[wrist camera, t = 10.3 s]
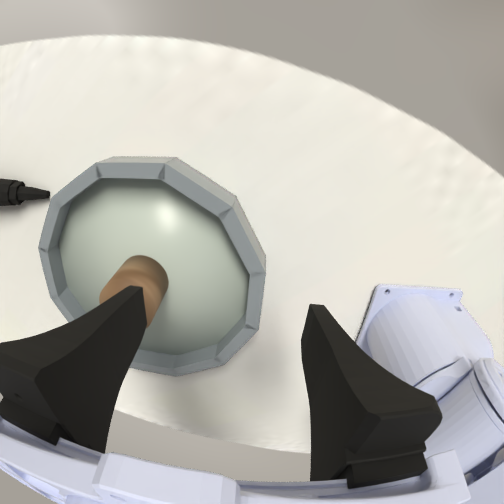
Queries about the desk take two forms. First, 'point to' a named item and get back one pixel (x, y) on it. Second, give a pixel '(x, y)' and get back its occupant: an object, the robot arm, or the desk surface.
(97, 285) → the round tray
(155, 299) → the brown rounded piece
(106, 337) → the robot arm
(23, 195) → the microphone
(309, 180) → the desk surface
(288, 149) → the desk surface
